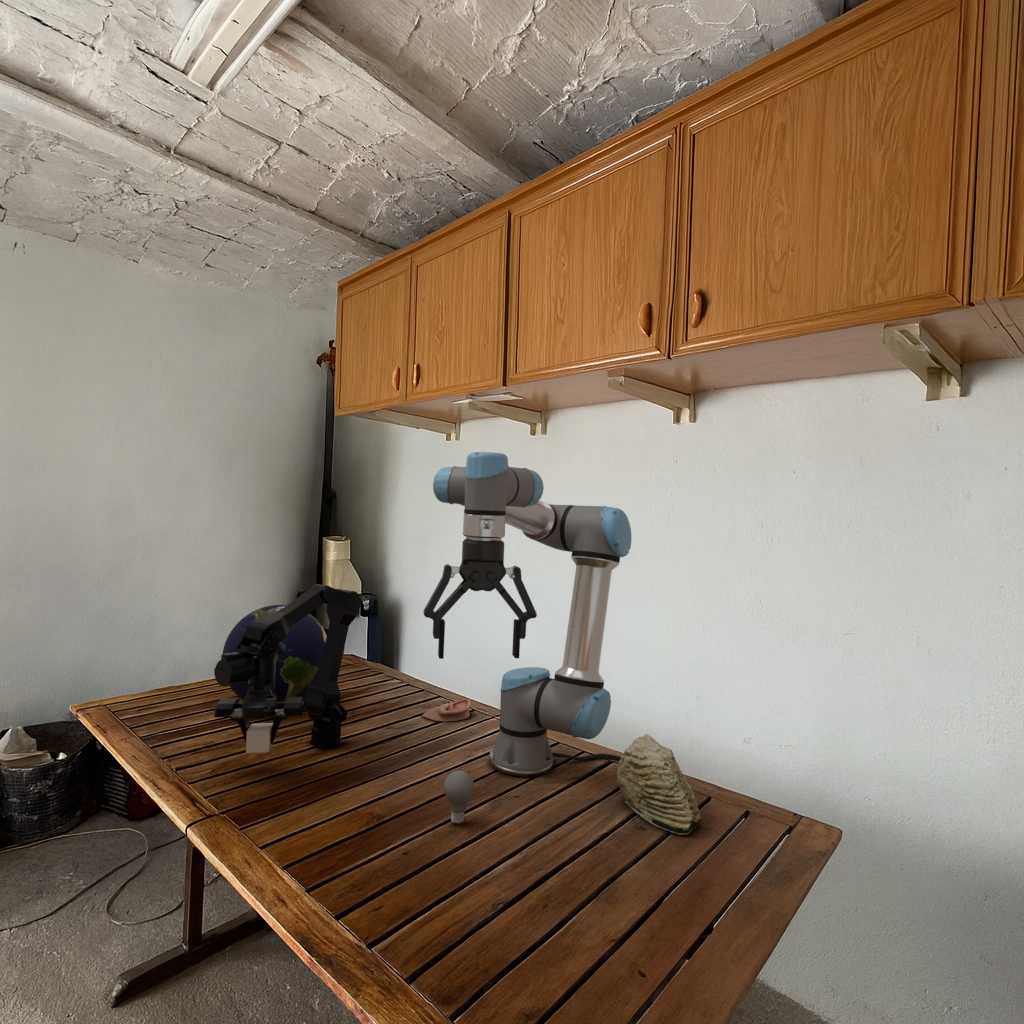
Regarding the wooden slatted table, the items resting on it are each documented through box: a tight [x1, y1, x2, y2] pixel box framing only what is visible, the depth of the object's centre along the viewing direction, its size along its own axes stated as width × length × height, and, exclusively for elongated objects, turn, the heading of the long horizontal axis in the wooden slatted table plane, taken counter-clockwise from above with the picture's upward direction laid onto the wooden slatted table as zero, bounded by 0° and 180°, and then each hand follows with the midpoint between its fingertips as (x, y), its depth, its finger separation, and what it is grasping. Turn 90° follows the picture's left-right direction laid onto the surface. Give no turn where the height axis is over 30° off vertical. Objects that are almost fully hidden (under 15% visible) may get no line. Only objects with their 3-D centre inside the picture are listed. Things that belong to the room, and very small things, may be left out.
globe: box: [221, 604, 327, 702], centre depth 188 cm, size 30×30×30 cm
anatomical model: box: [422, 698, 471, 722], centre depth 187 cm, size 13×4×12 cm
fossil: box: [616, 733, 702, 836], centre depth 132 cm, size 9×18×15 cm, turn 46°
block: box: [245, 722, 274, 754], centre depth 145 cm, size 5×5×5 cm
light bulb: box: [443, 770, 475, 824], centre depth 125 cm, size 6×6×10 cm
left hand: (259, 744), depth 145 cm, fingers closed on block, 5 cm apart
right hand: (478, 656), depth 114 cm, fingers open, 13 cm apart
